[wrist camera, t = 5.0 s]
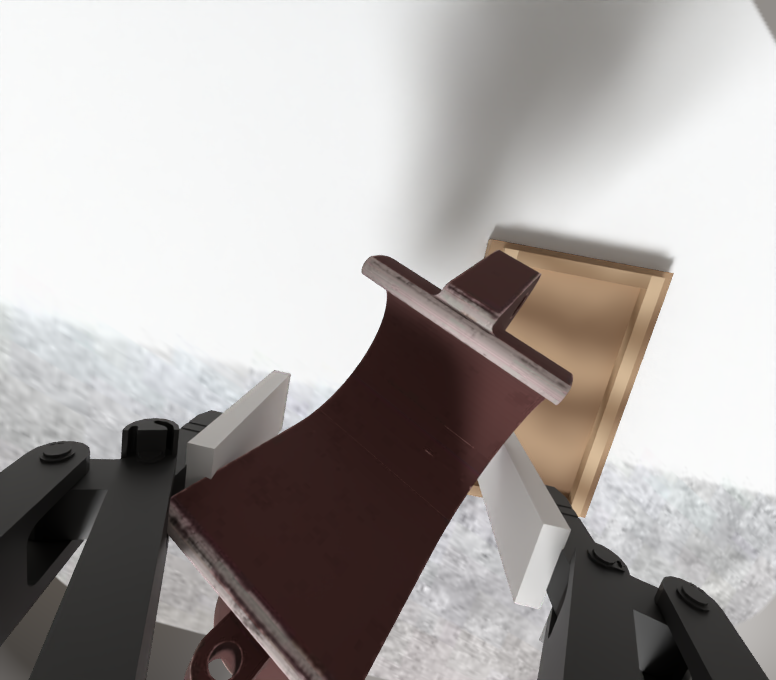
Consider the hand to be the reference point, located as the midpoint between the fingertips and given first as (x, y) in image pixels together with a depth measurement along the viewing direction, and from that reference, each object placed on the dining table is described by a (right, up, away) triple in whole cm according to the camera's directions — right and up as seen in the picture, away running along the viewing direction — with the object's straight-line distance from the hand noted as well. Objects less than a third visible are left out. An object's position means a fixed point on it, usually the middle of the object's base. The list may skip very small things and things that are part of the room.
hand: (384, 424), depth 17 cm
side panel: (+13, 0, +15) cm, 20 cm away
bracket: (-1, 0, +1) cm, 1 cm away
